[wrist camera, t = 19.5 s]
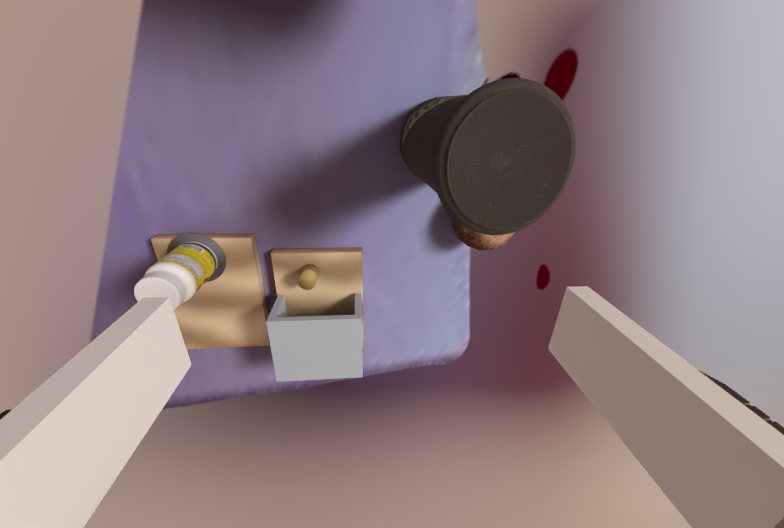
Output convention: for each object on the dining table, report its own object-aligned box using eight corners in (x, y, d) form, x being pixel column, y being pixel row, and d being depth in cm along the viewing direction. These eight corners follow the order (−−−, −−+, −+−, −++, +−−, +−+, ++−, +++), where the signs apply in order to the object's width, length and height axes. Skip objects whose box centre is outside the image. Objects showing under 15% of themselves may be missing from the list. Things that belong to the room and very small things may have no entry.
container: (480, 99, 34) (613, 84, 16) (465, 183, 38) (559, 245, 20) (401, 91, 33) (451, 65, 15) (394, 178, 37) (427, 239, 19)
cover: (277, 295, 40) (266, 321, 35) (361, 293, 41) (361, 318, 36) (286, 350, 44) (276, 381, 39) (362, 347, 45) (362, 377, 40)
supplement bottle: (193, 282, 38) (152, 324, 31) (166, 250, 36) (115, 286, 29) (227, 267, 38) (194, 305, 30) (201, 234, 36) (160, 266, 28)
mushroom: (532, 237, 39) (528, 238, 33) (469, 255, 42) (457, 260, 37) (512, 175, 39) (505, 166, 33) (452, 199, 43) (437, 195, 37)
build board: (156, 228, 37) (147, 233, 35) (253, 228, 38) (249, 232, 36) (191, 341, 44) (185, 350, 43) (272, 338, 45) (269, 346, 44)
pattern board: (273, 248, 39) (263, 264, 35) (361, 247, 40) (362, 262, 36) (288, 349, 46) (281, 371, 42) (363, 345, 47) (364, 367, 43)
